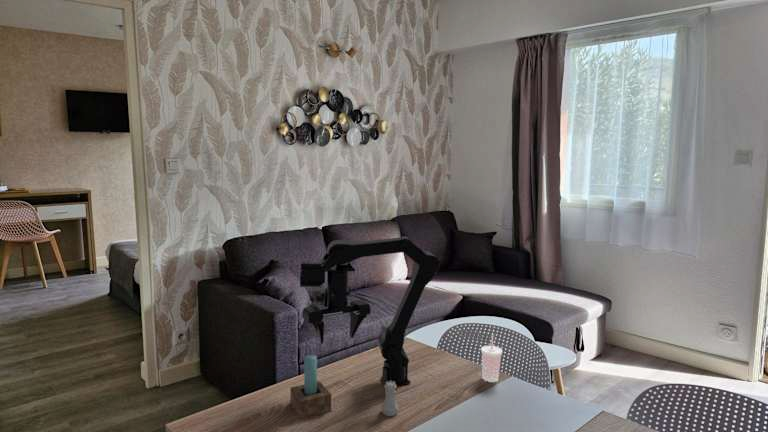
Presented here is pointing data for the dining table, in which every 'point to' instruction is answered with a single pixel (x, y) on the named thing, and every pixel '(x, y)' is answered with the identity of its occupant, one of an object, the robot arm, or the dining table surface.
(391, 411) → the rook chess piece
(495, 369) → the beverage cup
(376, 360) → the dining table surface
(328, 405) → the walnut hole block
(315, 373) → the teal pin
